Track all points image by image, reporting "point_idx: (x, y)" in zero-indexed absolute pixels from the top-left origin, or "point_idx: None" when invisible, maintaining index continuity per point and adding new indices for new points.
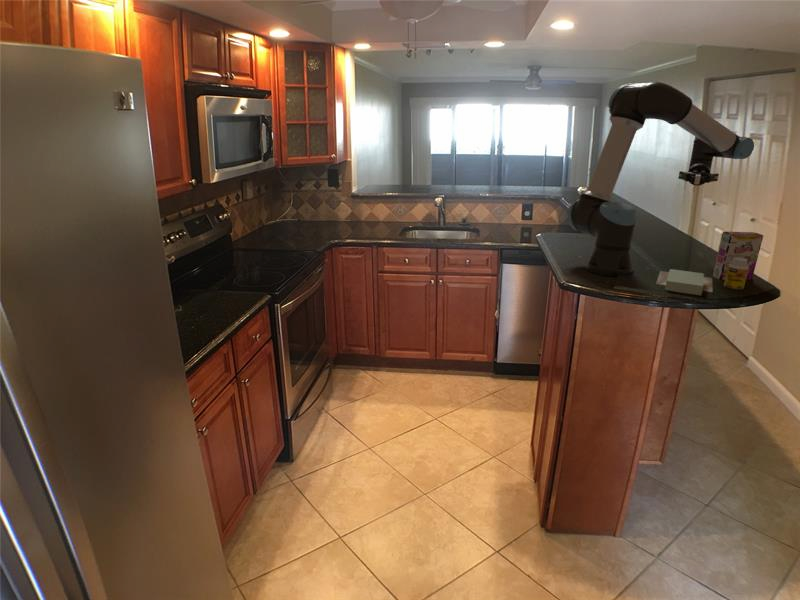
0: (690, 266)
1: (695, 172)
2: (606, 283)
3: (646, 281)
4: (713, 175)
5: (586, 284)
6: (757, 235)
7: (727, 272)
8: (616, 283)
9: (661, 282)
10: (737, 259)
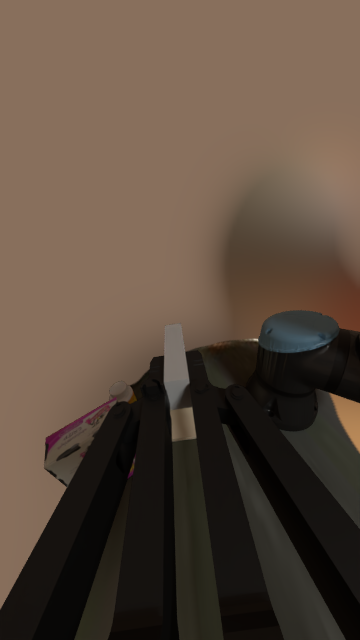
0: (189, 587)
1: (239, 622)
2: (244, 356)
3: (219, 385)
4: (46, 534)
5: (254, 345)
6: (60, 429)
7: (134, 395)
8: (238, 361)
9: None
10: (122, 382)
